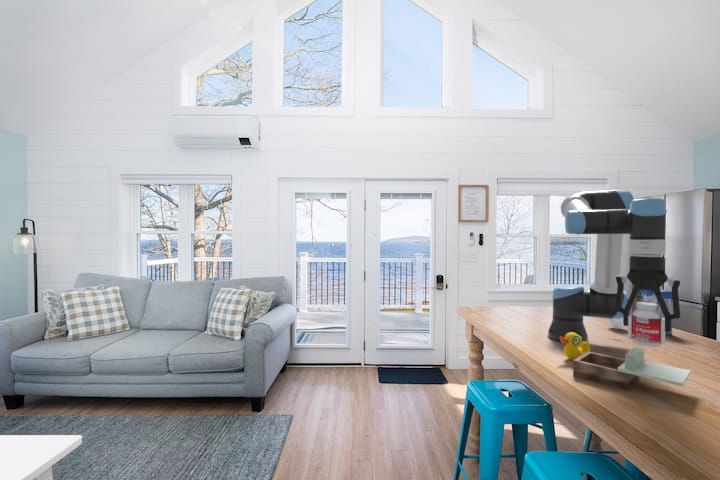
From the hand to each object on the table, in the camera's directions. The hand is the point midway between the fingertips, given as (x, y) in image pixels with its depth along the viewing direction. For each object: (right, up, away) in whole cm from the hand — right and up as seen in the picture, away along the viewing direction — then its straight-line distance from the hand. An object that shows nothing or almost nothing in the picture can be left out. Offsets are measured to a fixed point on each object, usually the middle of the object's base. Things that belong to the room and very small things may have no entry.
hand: (646, 340), depth 95 cm
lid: (+8, -11, +7) cm, 16 cm away
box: (+1, -16, +16) cm, 23 cm away
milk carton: (+63, -17, +71) cm, 96 cm away
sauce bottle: (+48, -17, +77) cm, 92 cm away
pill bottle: (0, -1, 0) cm, 1 cm away
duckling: (0, -17, +32) cm, 36 cm away
